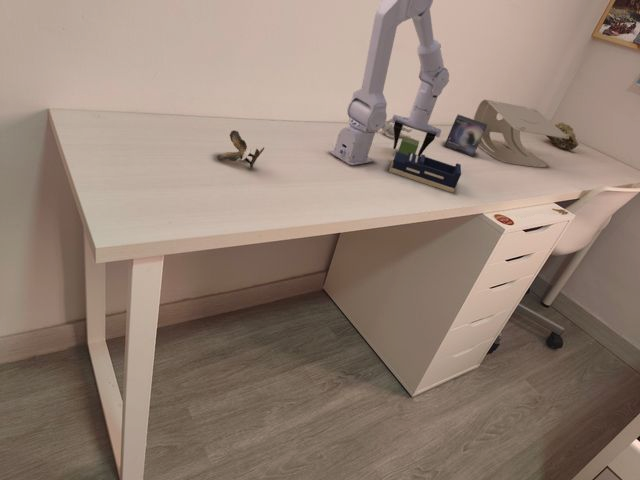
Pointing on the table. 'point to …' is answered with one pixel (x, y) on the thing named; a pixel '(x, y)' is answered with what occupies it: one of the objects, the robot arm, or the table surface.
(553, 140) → the mineral specimen
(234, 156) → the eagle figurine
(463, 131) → the small box
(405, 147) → the green cube
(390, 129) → the soldier figure
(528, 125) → the laptop stand
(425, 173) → the navy slotted organizer
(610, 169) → the table surface
